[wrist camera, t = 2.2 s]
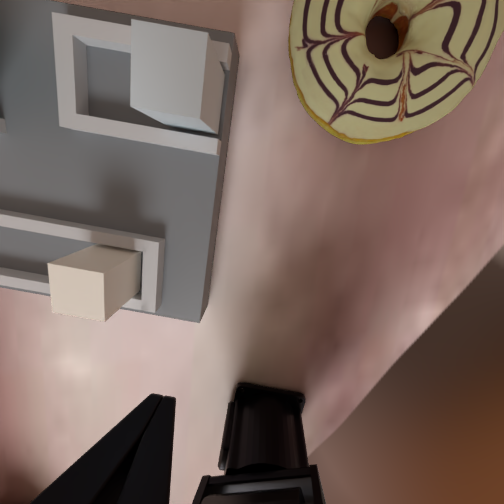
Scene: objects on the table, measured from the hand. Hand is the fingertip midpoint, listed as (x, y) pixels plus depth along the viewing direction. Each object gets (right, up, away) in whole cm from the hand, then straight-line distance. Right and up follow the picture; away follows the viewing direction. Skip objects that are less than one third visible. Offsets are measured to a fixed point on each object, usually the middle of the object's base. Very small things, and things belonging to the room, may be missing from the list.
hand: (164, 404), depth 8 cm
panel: (-9, +11, +10) cm, 17 cm away
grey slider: (0, +14, +6) cm, 15 cm away
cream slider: (-6, +4, +9) cm, 12 cm away
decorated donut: (+10, +18, +7) cm, 21 cm away
